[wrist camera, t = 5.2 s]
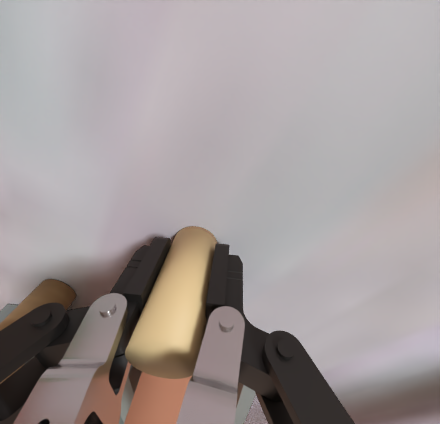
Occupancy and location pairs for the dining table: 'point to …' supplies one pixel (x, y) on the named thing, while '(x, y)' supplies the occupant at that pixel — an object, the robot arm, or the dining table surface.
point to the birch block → (41, 301)
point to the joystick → (171, 329)
